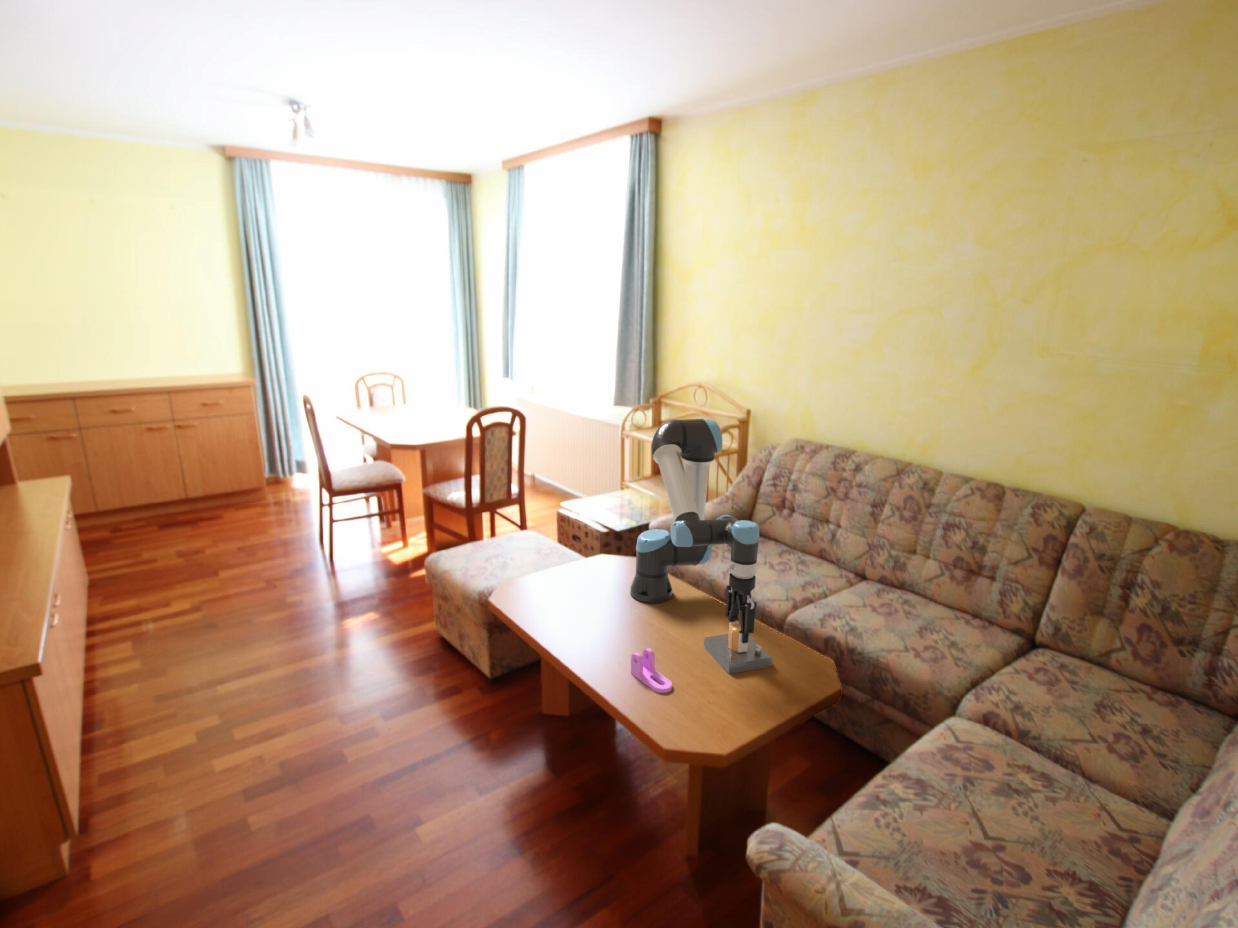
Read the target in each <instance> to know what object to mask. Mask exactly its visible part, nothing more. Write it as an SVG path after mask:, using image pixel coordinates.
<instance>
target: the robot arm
mask: <svg viewBox="0 0 1238 928" xmlns="http://www.w3.org/2000/svg"><path fill="white" fill-rule="evenodd" d="M722 449H723V435H722V430H721V428H720V426H719V423H717V421H715V420H714V419H709V418H708V419H707V418H694V419H693V418H691V419H671V420H668V421H667V420H666V422H664V423H662V424H661V425H660V426H659V427H657V429H656V430H655V433H654V435H653V437H652V440H651V455H652V458H653V461H654V462H655V463H656V464H658V468H659V471H660V475H661V478H662V481H663V485H664V488H665V492H666V495H667V498H668V503H669V505H670V509H671V512H672V513H671V514H672V516H673V519H674V521H673V522H672V523H671V525H670V531H668V530H666V529H663V528H662V529H660V528H654V529H653V528H652V529H647V530H645V531H643V532H642V533H640V534H639V535H638V537H637V540H636V546H635V551H636V554H635V555H636V559H635V561H636V562H635V563H636V564H635V575H634V577H633V580H632V582H631V585H630V596H631V597H632V598H633V599H635V600H636V601H638V602H642V603H648V604H658V603H659V604H660V603H665V602H667V601H669V600H671V598H672V597H673V587H672V584H671V580H670V576H669V568H673V567H685V566H686V567H687V566H689V567H690V566H698V565H704V564H706V563H708V561H709V560H710V558H711V556H712V552H713V545H714V546H715V545H717V546H718V545H727V546H728V547H730V564H729V572H730V573H729V578H728V579H729V580H728V585H726V602H725V603H726V605H725V617H727V618H728V621H729V624H728V632H729V631H730V626H731V625H733V624H740V625H741V631H739V641H738V652H739V653H740V652H746V651H747V647H748V637H749V636H750V634H754V632H755V617H756V609H757V602H756V601H753V600H752V592H753V590H754V589H755V588H756V581H757V580H756V578H757V576H756V574H757V569H758V568H757V566H758V565H757V564H758V553H759V541H760V526H759V524H758V523H756V522H755V521H752V520H743V519H741V520H738V519H737V518H736V517H734V516H733V515H730V514H722V515H720V516H718V517H717V518H716V519H715V518H714V519H705V514H706V506H707V505H706V504H707V494H708V481H709V474H710V473H709V472H710V464H711V463H713V462H714V460H715V455H716V454H719V453H720V452H721V451H722ZM683 463H684V464H683ZM739 621H740V622H739ZM728 642H729V638H728Z"/></svg>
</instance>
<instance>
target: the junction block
mask: <svg viewBox="0 0 1238 928" xmlns="http://www.w3.org/2000/svg"><path fill="white" fill-rule="evenodd" d="M728 638H729V633H725V634H719V635H718V634H717V635H713V636H706V637H704V638H703V639H704V641H703V647H704V648H705V649H706V651H707V652H708V653H709V654H710V655H711V656H712V657H713V658H714V660H715V661H716V662H717V663H718V664H719V665H720V666H721V668H723V669H724V671H726V673H727V675H731V674H735V673H737V674H738V673H741V672H748V671H752V670H753V671H754V670H758V669H763V668H764V669H765V668H770V667H772V664H773V663H772V662H773V656H772V655H771V654H770V653H769V652H767V651H766V650H765V649H764V647H762V645H761V644H759V643H758V642H757V641H756V640H755V639H753V637H751V636H750V635H749V637H748V647H747V651H746V652H740V653H739V652H737V651H733V650H731V649H730V648H729V647H728V644H729V642H728Z"/></svg>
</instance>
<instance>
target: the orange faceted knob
mask: <svg viewBox="0 0 1238 928" xmlns="http://www.w3.org/2000/svg"><path fill="white" fill-rule="evenodd" d="M739 631H741V623H739V624H733V625H731V626H730V631H729V630H728V634H729V644H728V647H729V648H730V649H731V650H733V651H737V652H738V641H739Z"/></svg>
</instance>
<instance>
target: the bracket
mask: <svg viewBox="0 0 1238 928" xmlns="http://www.w3.org/2000/svg"><path fill="white" fill-rule="evenodd" d="M655 656H656V655H655V653H654V650H653V649H652V648H650V647H648V648H646V649H643V651H642V654H641V653H639V652H635V653H633V654H631V656H630V674H631V675H632V676H633V677H635V678H636V679H638V680H639V681H640V682H642V683H643V684H644V685H645V686H647V687H648V688H650V689H651V690H653V691H654V692H656V693H657V694H658V693H659V694H666V693H669V692H671V691H672V689H673V683H672V681H671V680H670V679H669V678H667V676H665V675H663V674H662V673H661V672H659V671H657V670H656V668H655V664H656V662H655V658H656V657H655Z"/></svg>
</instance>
